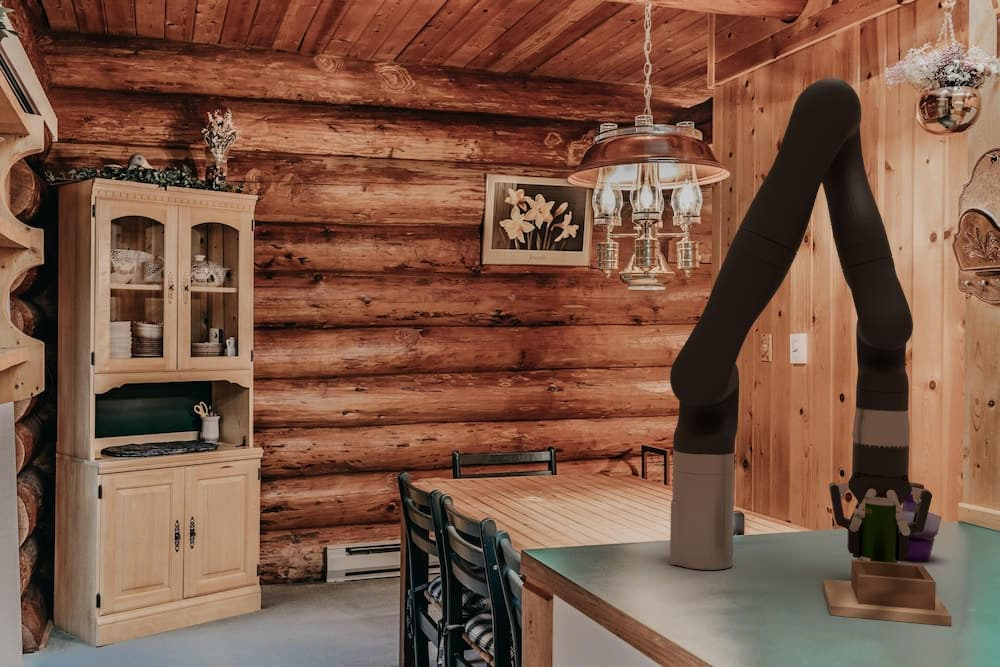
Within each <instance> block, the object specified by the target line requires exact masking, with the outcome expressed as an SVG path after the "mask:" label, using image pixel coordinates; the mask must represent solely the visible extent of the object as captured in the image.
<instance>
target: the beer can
mask: <svg viewBox="0 0 1000 667" xmlns="http://www.w3.org/2000/svg"><path fill="white" fill-rule="evenodd" d="M870 498H871V499H870V500H867V501H866V503H865V517H864V518H862V522H861V524H860V526H859V528H858V531H859V558H856V560H865V561H878V562H891V563H899V561H898V533H899V526H898V522H897V520H896V504H895V502H893V501H891V500H892V498H887V497H883V496H875V497H870ZM859 506H860V504H859ZM862 510H864V509H862ZM897 512H898V511H897Z"/></svg>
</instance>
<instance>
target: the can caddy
mask: <svg viewBox="0 0 1000 667" xmlns="http://www.w3.org/2000/svg"><path fill="white" fill-rule="evenodd" d="M850 571H851V572H850V574H851V575H850V579H851V580H842V579H841V580H840V579H838V580H837V579H827V578H823V579H822V589H823V593H824V596H825V600H826V603H827V608H828V611H829V614H830V616H837V617H848V618H859V619H870V620H880V621H893V622H903V623H914V624H915V623H916V624H925V625H927V624H928V625H936V626H947V627H948V626H949V627H952V620H953V618H952V614H951V613H950V611H948V609H947V608H946V606H945V604H944V603H943V602H942V600H941V599H940V598H939V596H938V595H937V593H936V589H937V588H936V587H937V584H936V581H935V579H934V578H933V576H932V575H931V574H930V573H929V571H928V570H927V569H926V567H925V566H924V565H923V564H918V563H903V562H902V563H901V562H898V563H891V562H878V561H865V560H857V559H851V568H850Z"/></svg>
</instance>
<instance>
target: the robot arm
mask: <svg viewBox="0 0 1000 667" xmlns="http://www.w3.org/2000/svg"><path fill="white" fill-rule="evenodd" d="M861 122H862V104H861V101H860V98H859V96H858V93H857V92H856V90H855V89H854V88H853V87H852V86H851V84H849V83H847V81H845V80H843V79H841V78H836V77H835V78H834V77H827V78H821V79H819V80H816V81H815V82H813V83H812V84H810V85H808V86H807V87H806V88H805V89H803V90H802V91H801V93H800V94H799V95H798V97H797V98H796V100H795V102H794V105H793V107H792V111H791V114H790V116H789V121H788V123H787V126H786V129H785V133H784V136H783V138H782V140H781V143H780V146H779V148H778V152H777V154H776V157H775V159H774V161H773V163H772V166H771V168H770V169H769V171H768V173H767V175H766V177H765V178H764V180H763V181H762V184H761V185H760V187H759V188H758V190H757V192H756V194H755V196H754V198H753V199H752V201H751V204H750V205H749V207H748V209H747V211H746V213H745V215H744V217H743V219H742V220H741V223H740V224H739V226H738V229H737V231H736V233H735V235H734V236H733V237H734V238H733V240H732V241H731V244H730V246H729V248H728V250H727V252H726V255H725V258H724V260H723V262H722V264H721V267H720V270H719V272H718V274H717V276H716V279H715V281H714V284H713V287H712V290H711V292H710V294H709V297H708V300H707V301H706V302H707V303H706V305H705V307H704V309H703V311H702V313H701V315H700V317H699V318H698V321H696V322H697V323H696V324H695V326H694V327H693V330H692V331H691V333H690V335H689V336H688V338H687V340H686V341H685V343H684V344H683V346H682V347H681V349H680V351H679V353H678V354H677V355H676V357H675V359H674V361H673V363H672V364H671V368H670V372H669V382H670V388H671V390H672V392H673V395H674V397H675V398H676V399H677V400H678V401H679V404H678V418H677V424H676V427H675V429H674V432H673V439H672V440H673V443H672V446H673V448H672V449H673V451H672V452H673V453H672V494H671V495H672V500H671V502H670V536H669V537H670V539H669V540H670V541H669V542H670V543H669V544H670V545H669V565H674V566H675V565H676V566H679V567H684V568H689V569H695V570H703V571H705V570H706V571H709V570H710V571H712V570H713V571H714V570H716V571H717V570H723V569H728V568H731V567H733V565H734V562H733V560H734V559H733V558H734V509H735V508H734V506H735V505H734V504H735V501H734V500H735V498H734V497H735V454H736V453H735V448H736V447H735V446H736V445H735V444H736V438H737V433H738V428H739V426H738V424H739V407H740V405H739V404H740V402H739V400H740V375H739V374H740V373H739V368H738V366H737V359H738V357H739V355H740V353H741V352H740V351H741V349H742V348H743V345H744V343H745V340H746V339H747V336H748V334H749V332H750V331H751V328H752V327H753V325H754V323H755V322H756V321H757V319H758V318H759V317H760V316H761V314H762V312H764V310H765V308H766V307H767V306H768V304H769V303H770V302H771V301H772V298H774V296H775V295H776V293H777V292H778V291H779V288H780V287H781V285H782V284H783V282H784V280H785V279H786V276H787V275H788V273H789V271H790V268H791V267H792V265H793V262H794V261H795V259H796V256H797V255H798V252H799V250H800V248H801V245H802V243H803V240H804V238H805V235H806V232H807V230H808V226H809V223H810V221H811V217H812V214H813V210H814V207H815V202H816V199H817V196H818V193H819V191H820V187H821V185H822V188H823V191H824V195H825V200H826V205H827V210H828V215H829V216H828V217H829V221H830V227H831V232H832V236H833V242H834V245H835V250H836V252H837V256H838V260H839V263H840V264H839V265H840V267H841V270H842V274H843V277H844V280H845V283H846V284H847V286H848V287H849V289H850V292H851V296H852V300H853V303H854V308H855V313H856V316H857V321H856V329H855V330H856V331H855V334H856V335H855V338H856V341H855V342H856V344H855V345H856V360H857V362H856V363H857V377H856V386H855V411H854V418H853V425H852V426H853V427H852V433H851V436H852V453H851V454H852V455H851V456H852V459H851V460H852V461H851V463H852V464H851V475H850V478H849V480H848V481H847V482H843V483H835V482H831V483H829V484H828V489H829V490H828V491H829V493H830V494H829V495H830V500H831V505H832V511H833V517H834V520H835V523H836V525H837V526H839V527H842V528H845V529H846V530H847V550H848V552H849V554H851V555H852V557H853V558H856V559H857V558H859V531H858V528H859V526H860V524H861V522H862V518H864V517H865V503H866V501H867V500H870V499H871V498H870V497H875V496H883V497H887V498H892V500H891V501H893V502H895V504H896V520H897V522H898V526H899V533H898V562H900V563H901V562H902V563H903V562H905V561H904V558H907V557H908V555H909V536H910V535H911V534H912V533H916V532H922V531H923V530H924V527H925V523H926V519H927V515H928V512H929V511H930V506H931V504H932V498H933V494H932V492H931V491H930V490H928V488H924V489H919V488H915V487H912V486H911V484H910V479H909V476H910V475H909V471H910V470H909V466H910V441H911V440H910V439H911V438H910V436H911V435H910V431H911V430H910V428H911V426H910V417H909V404H910V403H909V398H910V397H909V396H910V395H909V394H910V386H909V376H908V373H907V371H906V359H907V358H906V357H907V354H906V353H907V343H908V341H909V340H910V338H911V336H912V335H913V331H914V321H913V317H912V312H911V309H910V306H909V302H908V300H907V298H906V295H905V293H904V292H905V291H904V290H903V288H902V285H901V282H900V280H899V278H898V275H897V271H896V266H895V260H894V257H893V253H892V249H891V246H890V242H889V239H888V235H887V230H886V228H885V225H884V221H883V219H882V216H881V214H880V211H879V210H880V209H879V208H878V205H877V202H876V199H875V197H874V194H873V192H872V188H871V185H870V183H869V179H868V176H867V175H868V174H867V172H866V167H865V163H864V162H865V161H864V157H863V148H862V137H861ZM848 491H850V492H851V493H852V495H853V496H854V498H855V499H856V504H855V506H854V508H853V511H852V513H851V515H850V517H849V518H848V517H845V514H844V508H843V503H842V502H843V501H842V499H843V500H844V498H845V497H846V493H847V492H848ZM910 494H912V495H913V500H914V501H915V502H916V503H917V506H916V510H915V514H914V518H913V522H911V523H907V522H906V519H905V516H904V513H903V511H902V509H901V508H902V507H901V506H903V502H904V501H905V500H906V499H907V498H908V496H909V495H910ZM859 504H860V506H859ZM862 509H864V510H862ZM897 511H898V512H897Z"/></svg>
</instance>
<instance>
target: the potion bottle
mask: <svg viewBox="0 0 1000 667" xmlns="http://www.w3.org/2000/svg"><path fill="white" fill-rule="evenodd" d="M909 482H910V481H909ZM910 484H911V486H912V487H915V488H919V489H925V484H922V483H919V482H912V481H911V482H910ZM916 506H917V503H916V502H915V501H914V500H913V495H912V494H910V495H909V496H908V498H907V499H906V500H905V501H904V502H903V503H902V507H901V509H902V511H903V513H904V516H905V519H906V522H907V523H911V522H913V518H914V514H915V510H916ZM941 521H942V516H941V515H938V514H935V513H932V512H929V511H928V515H927V519H926V523H925V527H924V530H923V531H922V532H916V533H912V534H911V535H910V536H909V555H908V557H907V558H904V561H903V562H910V563H914V564H917V563H928V562H930V561H931V560H932V559H931V555H932V551H933V547H934V542H935V539H936V538H935V537H936V536H937V535H938V534H939V530H940V529H939V528H940V525H941Z"/></svg>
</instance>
